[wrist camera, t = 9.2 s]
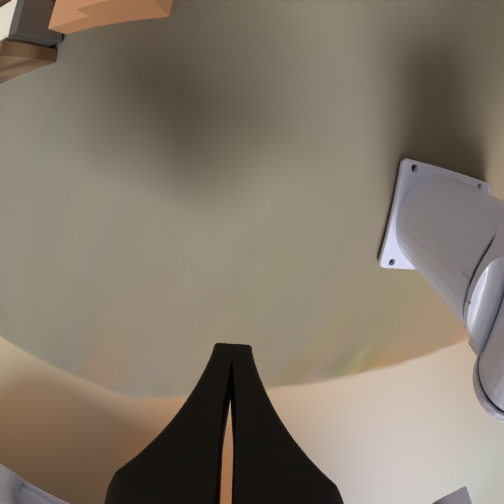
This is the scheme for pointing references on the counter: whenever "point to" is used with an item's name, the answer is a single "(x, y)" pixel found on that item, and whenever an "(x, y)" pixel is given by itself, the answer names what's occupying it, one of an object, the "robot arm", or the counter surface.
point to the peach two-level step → (104, 13)
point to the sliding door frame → (22, 56)
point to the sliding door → (28, 22)
